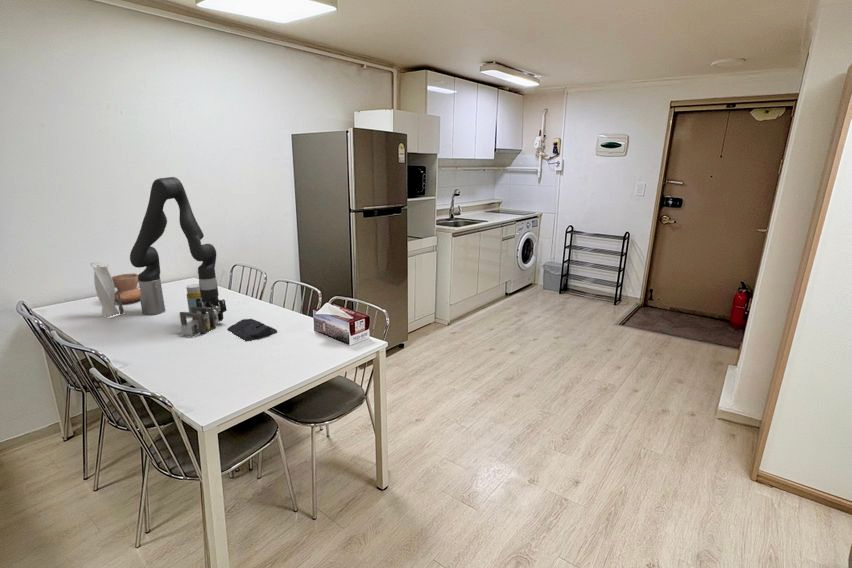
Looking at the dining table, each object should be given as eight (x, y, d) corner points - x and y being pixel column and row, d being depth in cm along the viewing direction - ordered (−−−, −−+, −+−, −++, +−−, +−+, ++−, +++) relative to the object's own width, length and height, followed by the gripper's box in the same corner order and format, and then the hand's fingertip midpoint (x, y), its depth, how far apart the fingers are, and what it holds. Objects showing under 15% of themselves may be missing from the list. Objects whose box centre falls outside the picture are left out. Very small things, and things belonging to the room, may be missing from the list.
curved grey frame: (182, 332, 197) (179, 312, 194) (195, 325, 205) (192, 306, 202) (204, 334, 195) (201, 314, 192) (216, 327, 203) (213, 308, 200)
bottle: (208, 312, 222) (204, 284, 218) (199, 317, 216) (195, 288, 211) (195, 311, 223) (191, 283, 219) (186, 316, 216) (182, 287, 212)
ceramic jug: (142, 294, 249) (138, 270, 245) (151, 300, 239) (147, 275, 235) (104, 302, 236) (99, 276, 232) (112, 308, 226) (107, 281, 222)
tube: (192, 337, 192) (191, 326, 191) (182, 336, 193) (181, 325, 192) (222, 321, 211) (220, 311, 210) (212, 320, 212) (211, 310, 211)
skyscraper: (108, 319, 212) (97, 263, 204) (96, 317, 214) (85, 262, 206) (125, 314, 219) (114, 259, 212) (113, 312, 222) (102, 258, 214)
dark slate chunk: (256, 321, 212) (255, 312, 211) (280, 333, 198) (279, 324, 197) (224, 330, 201) (223, 320, 200) (247, 343, 187) (246, 333, 186)
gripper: (189, 288, 202) (194, 321, 206) (216, 290, 199) (221, 323, 203) (200, 283, 209) (205, 315, 213) (227, 285, 206) (231, 318, 211)
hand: (212, 319), depth 208 cm, fingers open, 8 cm apart
